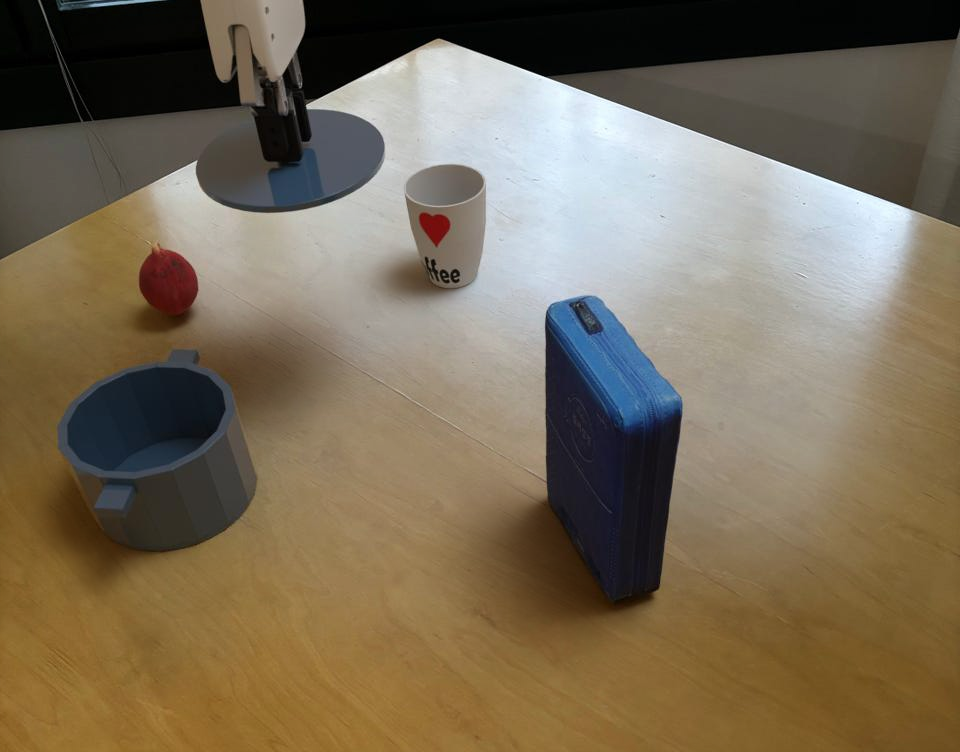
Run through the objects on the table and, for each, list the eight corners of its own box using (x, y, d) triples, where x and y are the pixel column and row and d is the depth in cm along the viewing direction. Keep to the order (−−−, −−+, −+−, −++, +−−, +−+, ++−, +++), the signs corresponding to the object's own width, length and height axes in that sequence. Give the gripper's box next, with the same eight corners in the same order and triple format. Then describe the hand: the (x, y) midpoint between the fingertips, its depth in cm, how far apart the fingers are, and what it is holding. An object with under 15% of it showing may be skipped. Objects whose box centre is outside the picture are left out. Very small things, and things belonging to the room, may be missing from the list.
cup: (400, 275, 114) (387, 186, 106) (457, 243, 117) (449, 154, 109) (449, 306, 110) (439, 216, 102) (507, 272, 113) (502, 182, 105)
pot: (57, 570, 91) (16, 497, 84) (135, 414, 103) (105, 340, 96) (222, 579, 89) (194, 506, 82) (282, 419, 101) (261, 344, 94)
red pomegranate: (218, 307, 113) (197, 238, 106) (179, 336, 110) (156, 267, 104) (178, 291, 115) (155, 222, 109) (140, 320, 112) (114, 251, 106)
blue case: (536, 499, 92) (528, 297, 76) (593, 481, 93) (597, 277, 77) (608, 618, 83) (617, 418, 68) (670, 596, 84) (692, 394, 69)
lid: (174, 219, 86) (150, 143, 81) (229, 122, 96) (210, 49, 91) (365, 221, 84) (352, 144, 79) (402, 122, 94) (392, 47, 89)
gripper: (214, -147, 80) (270, 103, 94) (143, -62, 70) (217, 202, 84) (312, -151, 79) (353, 103, 93) (254, -65, 69) (309, 203, 83)
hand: (288, 148), depth 89 cm, fingers closed on lid, 2 cm apart
